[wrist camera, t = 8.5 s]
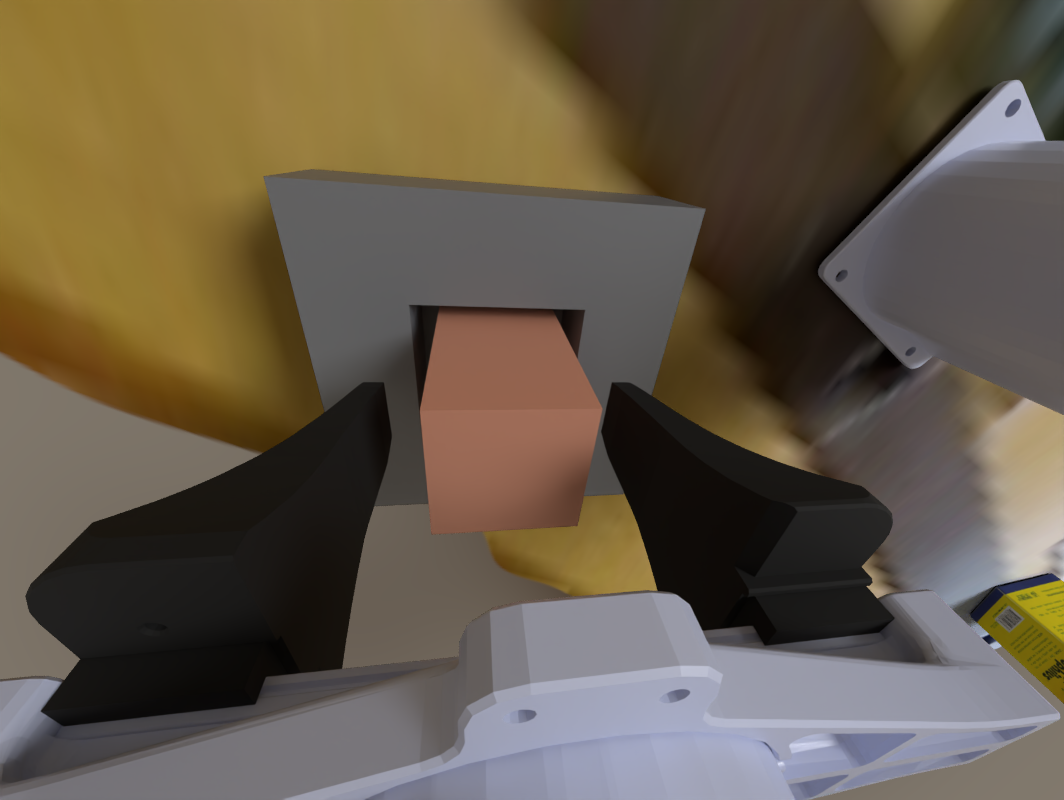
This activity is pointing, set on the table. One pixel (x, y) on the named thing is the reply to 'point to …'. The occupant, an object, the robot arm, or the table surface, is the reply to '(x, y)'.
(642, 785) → the robot arm
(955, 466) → the table surface
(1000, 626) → the supplement box
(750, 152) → the table surface
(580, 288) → the socket
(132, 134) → the table surface
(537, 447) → the peg
